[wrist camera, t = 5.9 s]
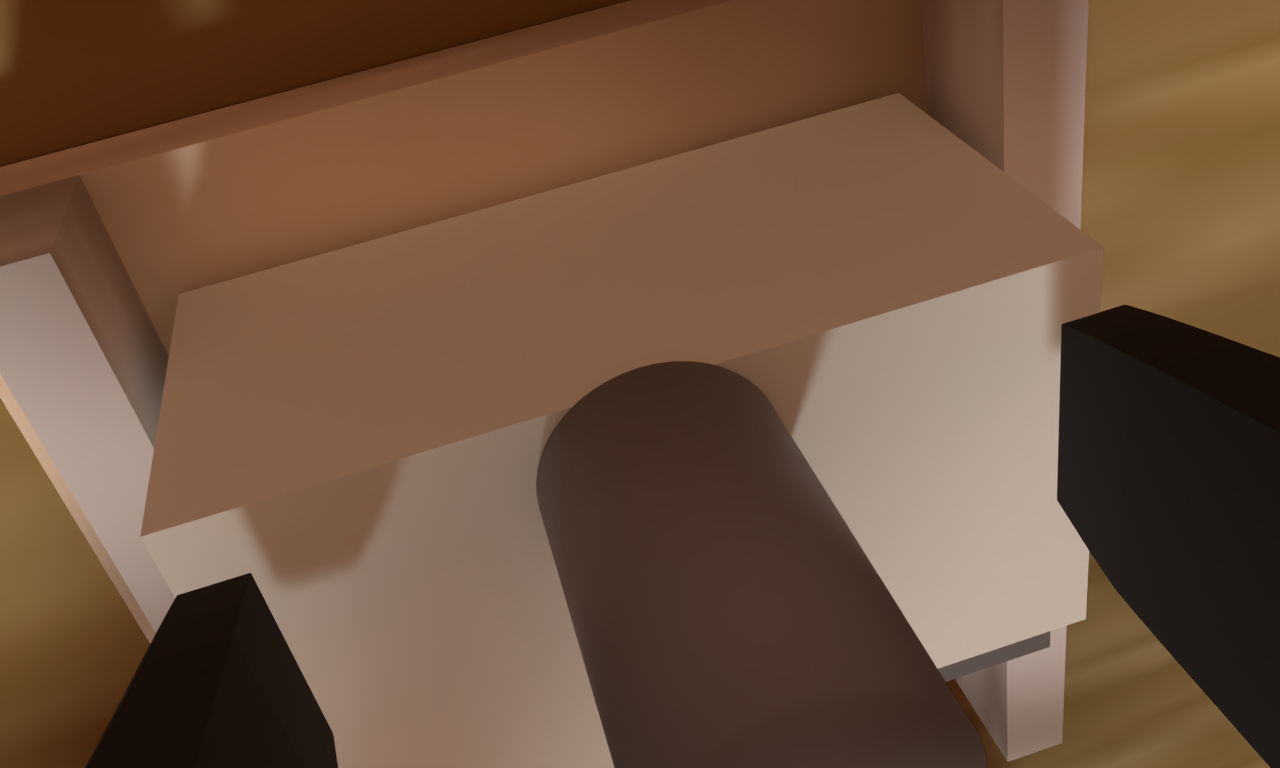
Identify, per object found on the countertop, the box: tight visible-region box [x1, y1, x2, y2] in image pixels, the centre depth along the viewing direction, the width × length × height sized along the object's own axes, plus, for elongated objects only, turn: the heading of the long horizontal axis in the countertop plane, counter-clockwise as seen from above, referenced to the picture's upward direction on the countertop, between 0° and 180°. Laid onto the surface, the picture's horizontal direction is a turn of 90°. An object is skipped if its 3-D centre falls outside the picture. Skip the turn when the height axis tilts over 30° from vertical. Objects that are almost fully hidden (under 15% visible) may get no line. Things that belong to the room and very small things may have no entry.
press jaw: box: [140, 93, 1104, 768], centre depth 12 cm, size 6×9×8 cm, turn 100°
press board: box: [0, 0, 1089, 762], centre depth 17 cm, size 13×14×3 cm
